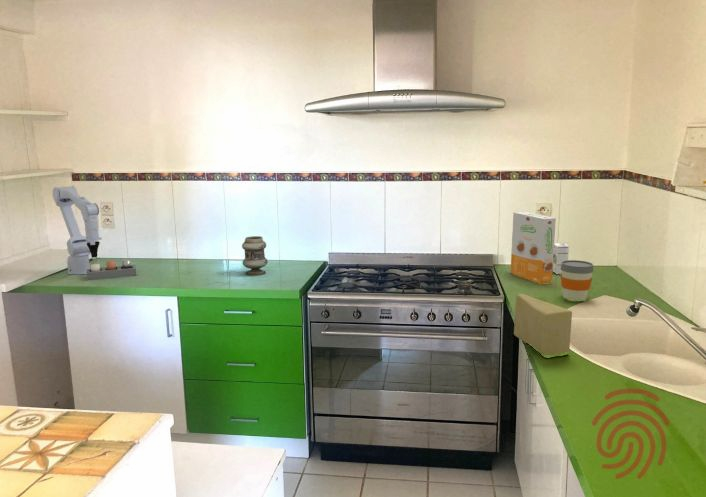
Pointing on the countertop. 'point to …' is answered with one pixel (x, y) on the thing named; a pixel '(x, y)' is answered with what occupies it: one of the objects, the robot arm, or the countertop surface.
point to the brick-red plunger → (111, 265)
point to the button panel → (111, 273)
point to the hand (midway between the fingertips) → (94, 257)
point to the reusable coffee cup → (576, 279)
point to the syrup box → (559, 256)
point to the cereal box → (533, 246)
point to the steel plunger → (126, 264)
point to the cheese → (542, 325)
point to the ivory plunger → (95, 267)
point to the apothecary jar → (254, 255)
